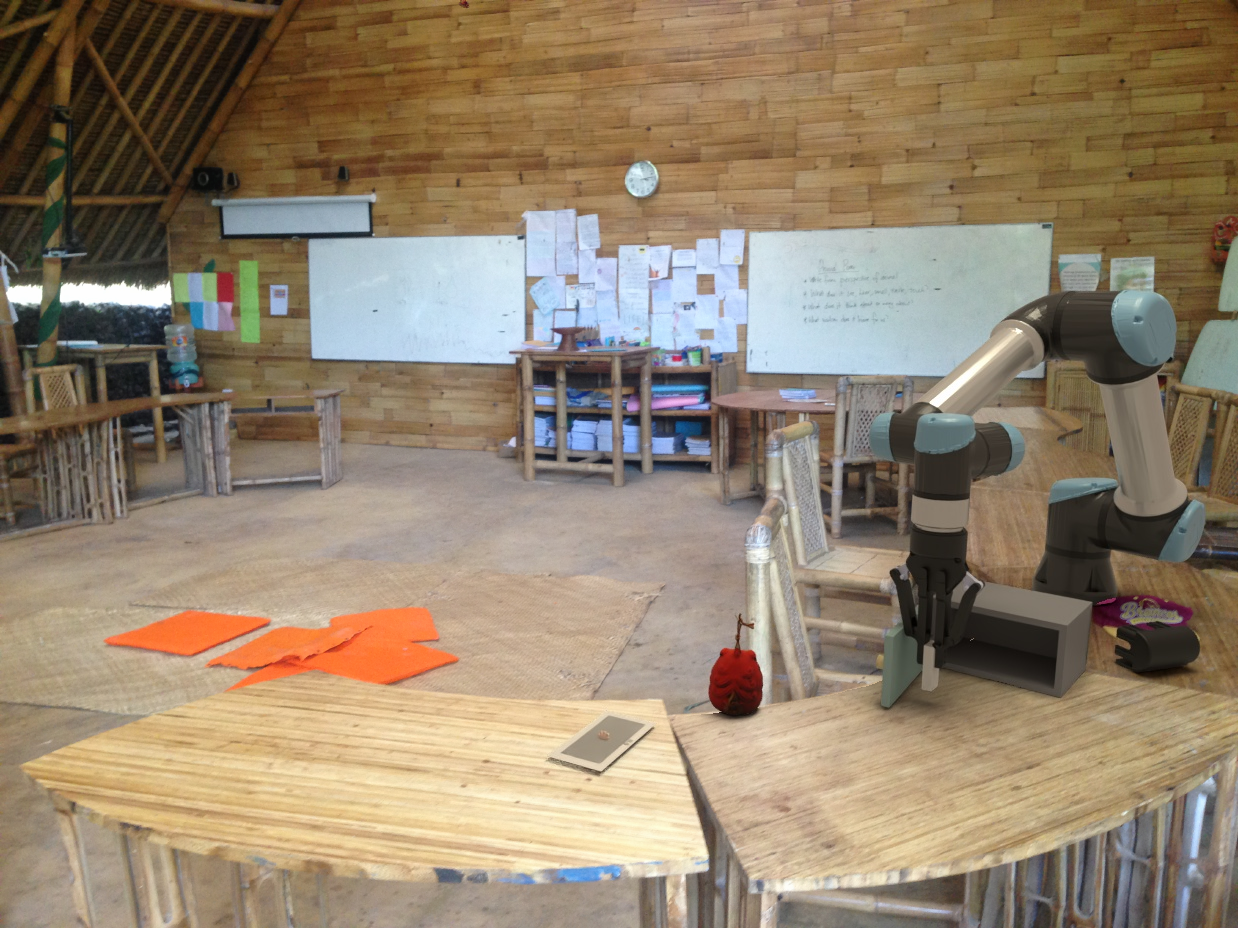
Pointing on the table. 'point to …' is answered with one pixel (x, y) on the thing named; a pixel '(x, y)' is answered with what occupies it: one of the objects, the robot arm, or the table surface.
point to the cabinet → (1021, 638)
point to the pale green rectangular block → (897, 663)
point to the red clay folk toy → (736, 679)
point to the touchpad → (602, 740)
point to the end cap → (1156, 647)
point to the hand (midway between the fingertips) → (929, 687)
